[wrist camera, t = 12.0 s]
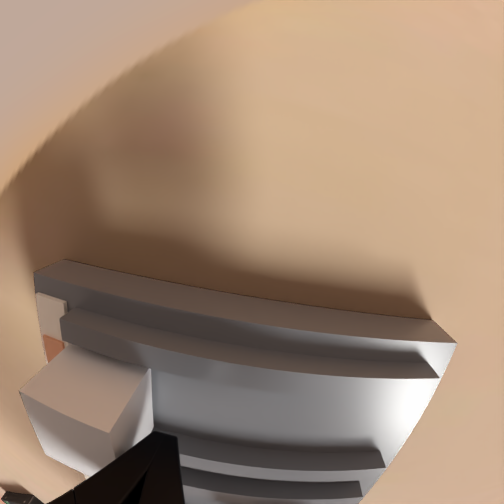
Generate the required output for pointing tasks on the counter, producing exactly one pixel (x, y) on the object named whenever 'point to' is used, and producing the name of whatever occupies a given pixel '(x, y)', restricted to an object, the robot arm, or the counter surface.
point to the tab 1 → (89, 408)
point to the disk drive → (20, 498)
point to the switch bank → (255, 380)
